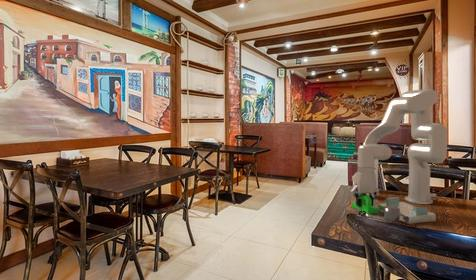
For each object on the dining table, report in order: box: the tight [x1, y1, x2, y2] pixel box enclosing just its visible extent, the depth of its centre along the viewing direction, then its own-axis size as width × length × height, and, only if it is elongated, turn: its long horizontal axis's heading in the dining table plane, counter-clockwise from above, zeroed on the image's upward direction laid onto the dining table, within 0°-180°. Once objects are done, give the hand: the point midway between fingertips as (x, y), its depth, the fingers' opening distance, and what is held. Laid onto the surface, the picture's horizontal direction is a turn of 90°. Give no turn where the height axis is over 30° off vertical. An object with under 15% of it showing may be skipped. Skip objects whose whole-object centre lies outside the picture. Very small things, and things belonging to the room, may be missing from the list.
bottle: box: [374, 159, 379, 189], centre depth 167 cm, size 8×8×30 cm
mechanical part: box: [351, 194, 380, 215], centre depth 134 cm, size 12×6×8 cm, turn 13°
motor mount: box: [378, 196, 437, 225], centre depth 124 cm, size 22×18×6 cm
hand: (364, 205), depth 134 cm, fingers closed on mechanical part, 6 cm apart
